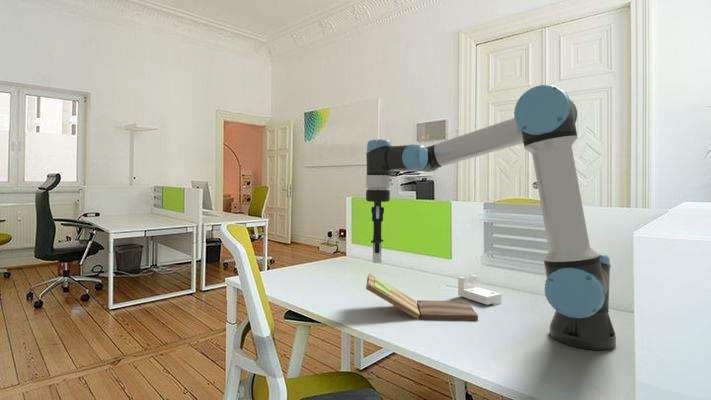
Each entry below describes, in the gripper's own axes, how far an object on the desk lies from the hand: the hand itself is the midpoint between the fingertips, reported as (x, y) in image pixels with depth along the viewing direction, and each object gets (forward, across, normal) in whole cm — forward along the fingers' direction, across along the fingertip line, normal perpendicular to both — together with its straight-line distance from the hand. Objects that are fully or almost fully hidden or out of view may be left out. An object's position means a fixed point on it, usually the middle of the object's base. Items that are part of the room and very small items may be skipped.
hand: (376, 262), depth 125 cm
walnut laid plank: (+15, 0, -22) cm, 27 cm away
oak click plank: (+11, 0, -5) cm, 12 cm away
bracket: (+16, +13, -36) cm, 42 cm away
